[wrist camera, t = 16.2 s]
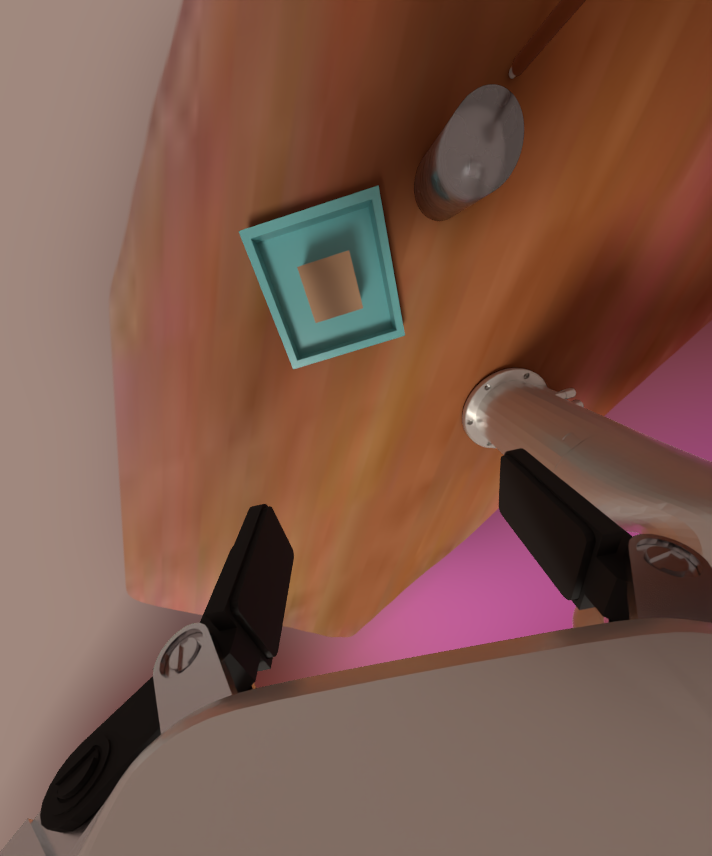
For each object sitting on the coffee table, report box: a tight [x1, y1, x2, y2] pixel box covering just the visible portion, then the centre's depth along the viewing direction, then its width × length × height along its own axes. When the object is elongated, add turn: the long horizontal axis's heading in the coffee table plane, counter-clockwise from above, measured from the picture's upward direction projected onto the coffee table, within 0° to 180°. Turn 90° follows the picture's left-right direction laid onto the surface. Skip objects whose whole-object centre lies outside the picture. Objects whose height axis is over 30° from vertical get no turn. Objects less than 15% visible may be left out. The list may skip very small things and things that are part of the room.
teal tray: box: [239, 185, 405, 369], centre depth 29 cm, size 14×14×3 cm
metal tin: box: [414, 84, 524, 221], centre depth 23 cm, size 6×6×8 cm
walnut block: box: [297, 250, 363, 323], centre depth 27 cm, size 5×5×5 cm
